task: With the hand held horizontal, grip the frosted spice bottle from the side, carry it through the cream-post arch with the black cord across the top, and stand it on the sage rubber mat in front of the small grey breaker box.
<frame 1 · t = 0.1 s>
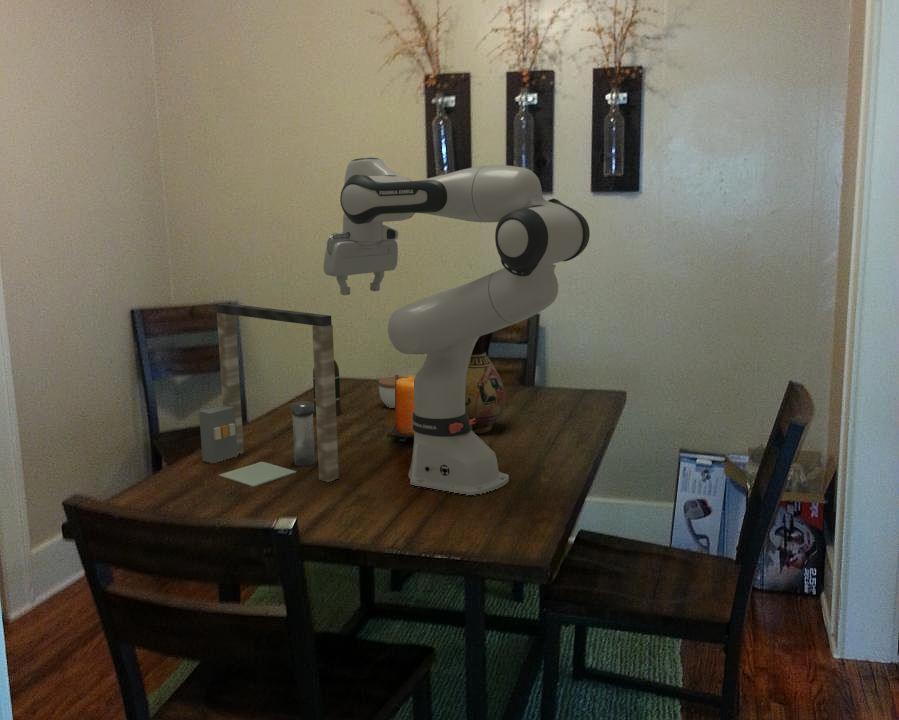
hand: (360, 292, 202), 39 cm above the table, tool pointing down, fingers open, 8 cm apart
sage mat: (257, 474, 197), on the table
frosted spice bottle: (304, 462, 205), on the table
beer bottle: (327, 414, 249), on the table
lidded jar: (397, 407, 256), on the table
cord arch: (279, 465, 203), on the table
ceramic jug: (477, 429, 232), on the table
breaker box: (220, 458, 209), on the table
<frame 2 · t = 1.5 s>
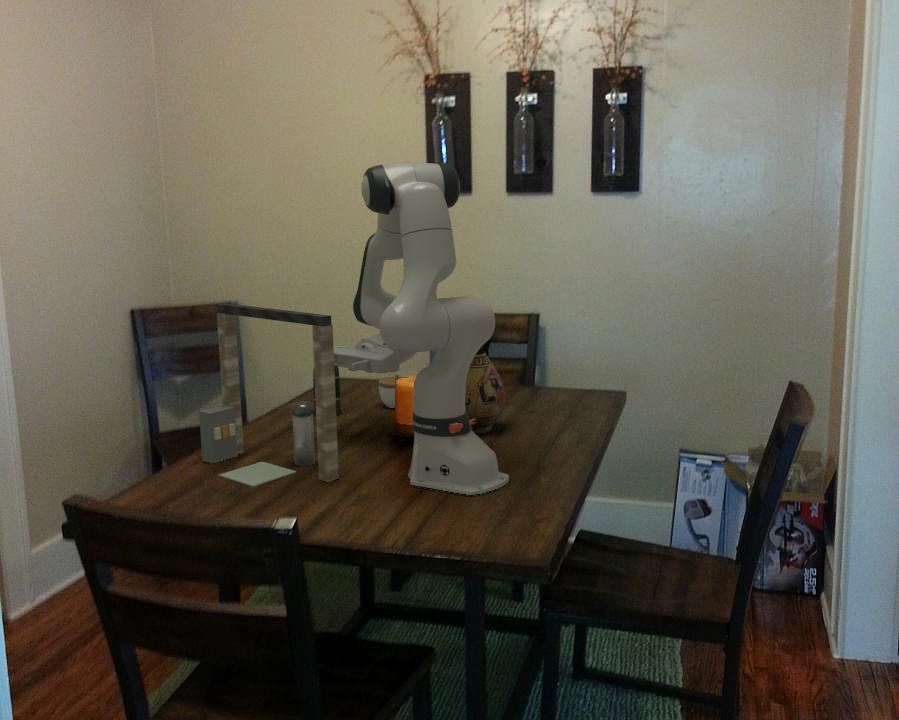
hand: (335, 365, 211), 21 cm above the table, tool horizontal, fingers open, 8 cm apart
nothing on the table moved.
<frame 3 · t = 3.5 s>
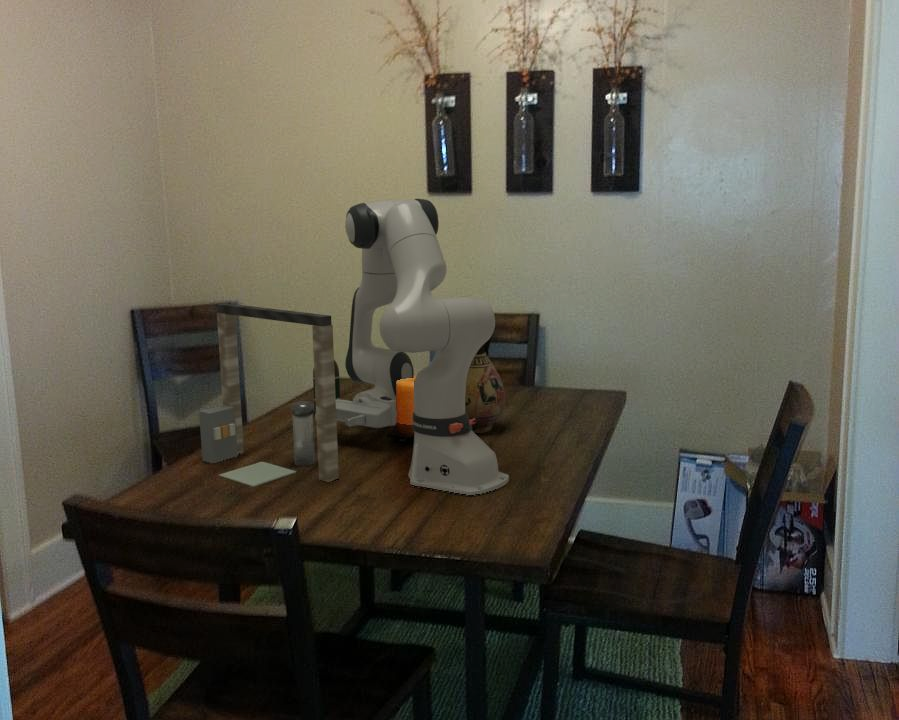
hand: (331, 420, 211), 8 cm above the table, tool horizontal, fingers open, 8 cm apart
nothing on the table moved.
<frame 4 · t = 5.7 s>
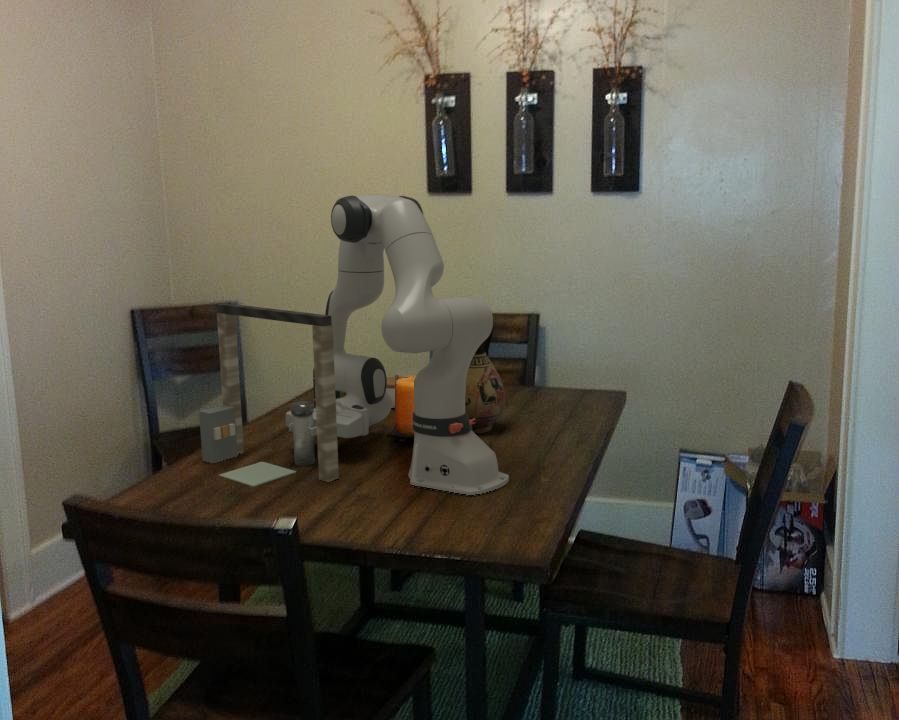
hand: (300, 430, 203), 8 cm above the table, tool horizontal, fingers closed on frosted spice bottle, 5 cm apart
frosted spice bottle: (304, 462, 205), on the table, touching gripper
everything else where it was.
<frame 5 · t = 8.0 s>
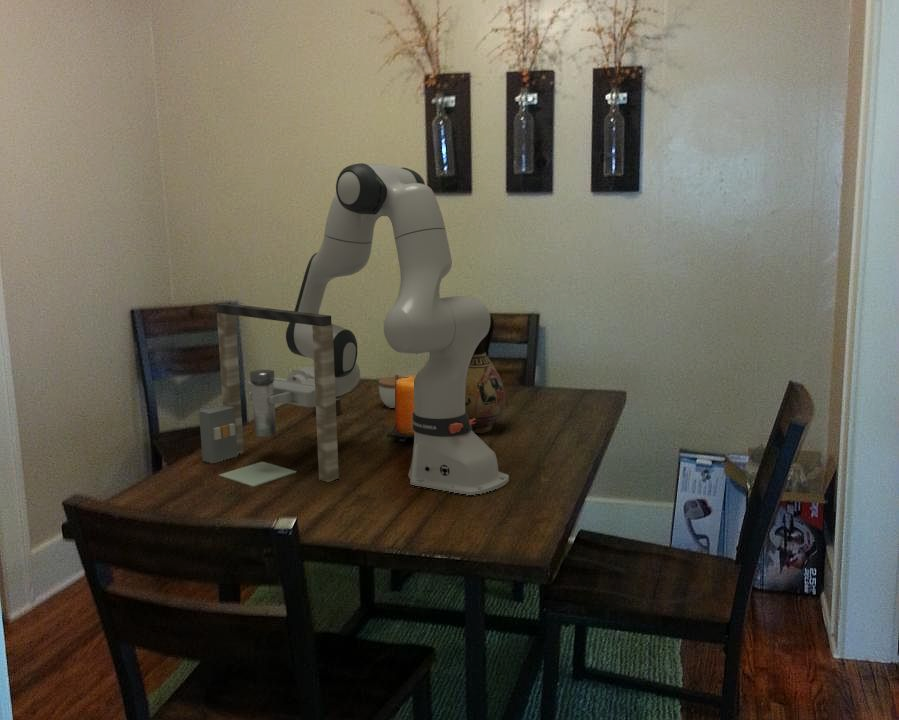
hand: (260, 398, 195), 17 cm above the table, tool horizontal, fingers closed on frosted spice bottle, 5 cm apart
frosted spice bottle: (265, 433, 197), point 9 cm above the table, touching gripper
everything else where it was.
when the fingers open (9 cm above the table, at t = 10.1 s): frosted spice bottle stays where it is, resting on sage mat.
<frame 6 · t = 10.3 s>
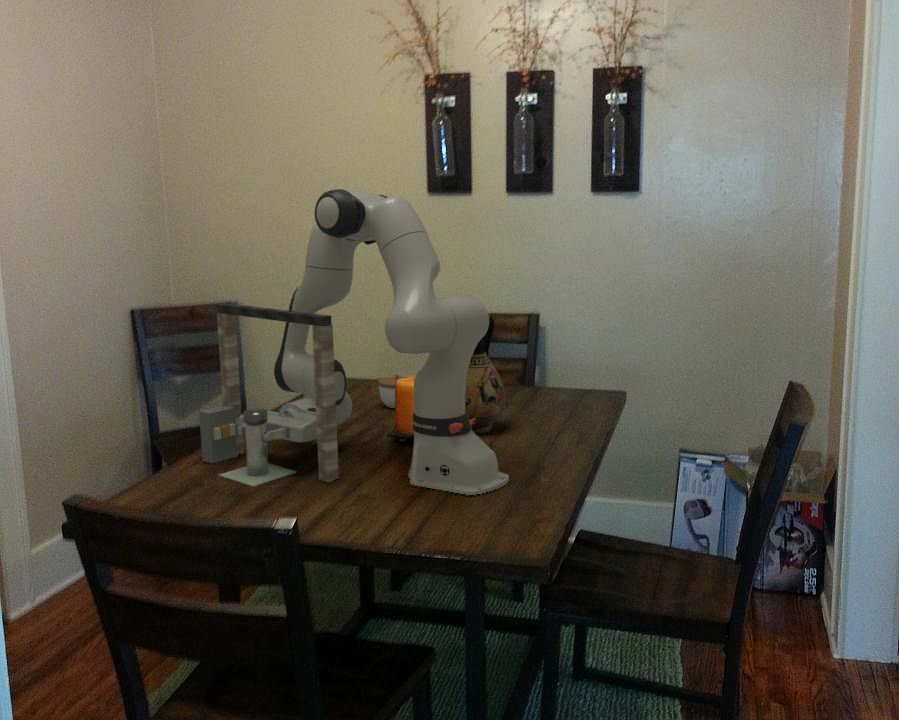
hand: (252, 434, 195), 9 cm above the table, tool horizontal, fingers open, 7 cm apart
frosted spice bottle: (258, 472, 197), resting on sage mat
everything else where it was.
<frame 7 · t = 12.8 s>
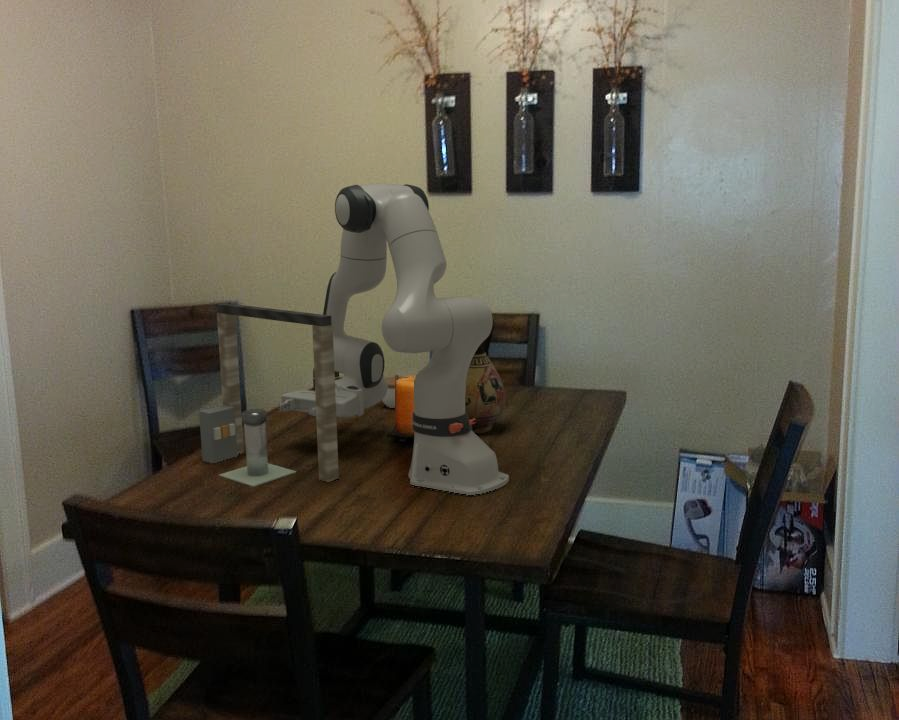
hand: (296, 410, 204), 12 cm above the table, tool horizontal, fingers open, 8 cm apart
nothing on the table moved.
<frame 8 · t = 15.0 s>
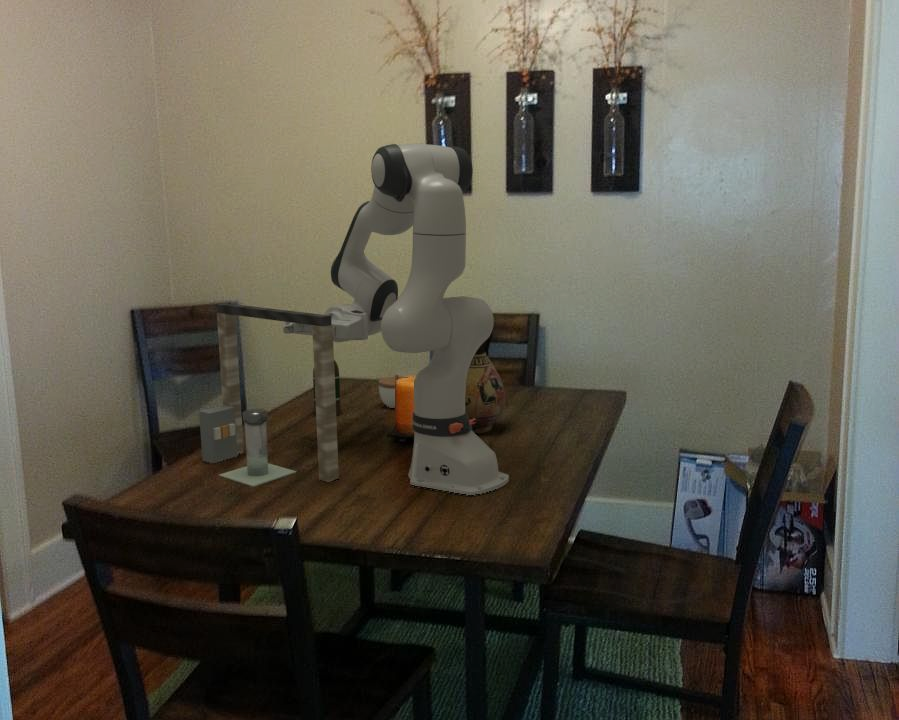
hand: (300, 331, 203), 30 cm above the table, tool horizontal, fingers open, 8 cm apart
nothing on the table moved.
at the end: frosted spice bottle inside the target area on the sage mat (0.1 cm from its centre), point 0.3 cm above the sage mat's base; frosted spice bottle tilted 1°; the gripper is holding nothing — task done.
